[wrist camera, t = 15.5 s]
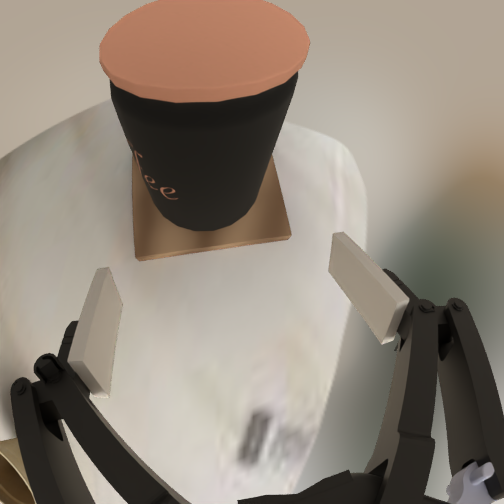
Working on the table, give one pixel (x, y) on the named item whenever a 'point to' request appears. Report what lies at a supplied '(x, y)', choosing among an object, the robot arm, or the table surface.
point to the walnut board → (187, 241)
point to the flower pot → (13, 475)
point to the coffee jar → (203, 100)
